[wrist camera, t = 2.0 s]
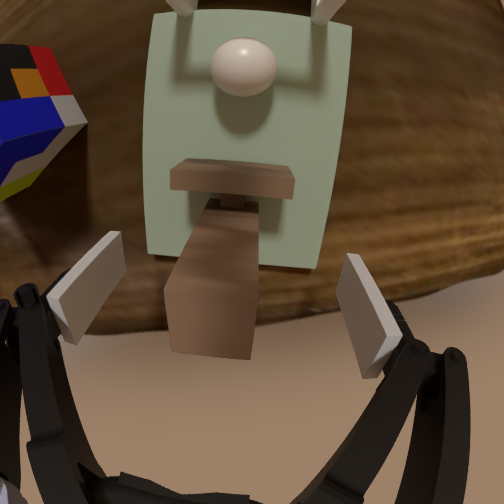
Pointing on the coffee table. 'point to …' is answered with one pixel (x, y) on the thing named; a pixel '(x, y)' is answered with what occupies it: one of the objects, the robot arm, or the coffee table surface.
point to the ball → (243, 66)
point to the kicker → (220, 257)
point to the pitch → (245, 121)
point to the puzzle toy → (32, 115)
